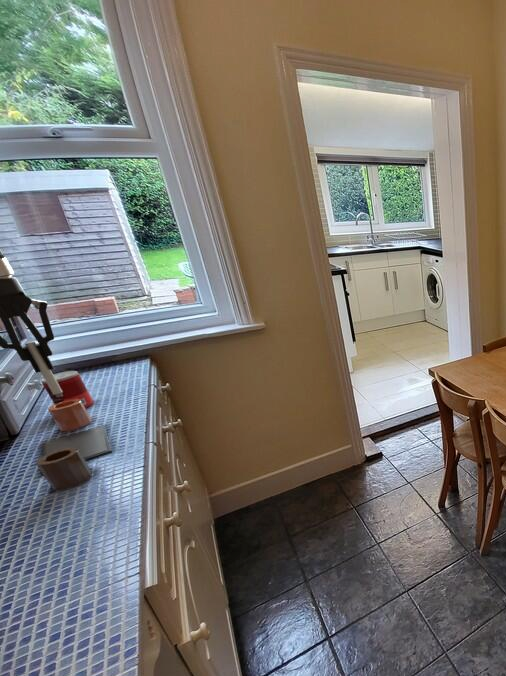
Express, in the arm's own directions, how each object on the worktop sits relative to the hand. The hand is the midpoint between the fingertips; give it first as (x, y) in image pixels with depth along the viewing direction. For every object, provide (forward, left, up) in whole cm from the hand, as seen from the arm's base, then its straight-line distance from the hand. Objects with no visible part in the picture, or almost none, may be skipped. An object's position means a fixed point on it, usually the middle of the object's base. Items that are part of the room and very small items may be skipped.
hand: (45, 369), depth 107 cm
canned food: (-10, +13, -17) cm, 24 cm away
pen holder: (0, 0, -17) cm, 17 cm away
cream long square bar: (+1, -1, -7) cm, 8 cm away
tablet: (+11, -14, -17) cm, 25 cm away
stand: (+22, -29, -17) cm, 40 cm away
